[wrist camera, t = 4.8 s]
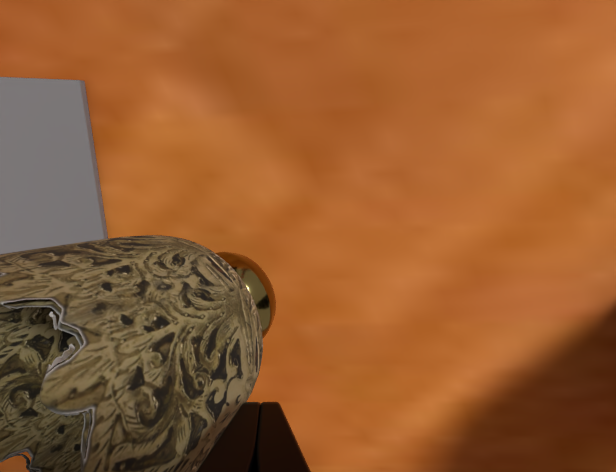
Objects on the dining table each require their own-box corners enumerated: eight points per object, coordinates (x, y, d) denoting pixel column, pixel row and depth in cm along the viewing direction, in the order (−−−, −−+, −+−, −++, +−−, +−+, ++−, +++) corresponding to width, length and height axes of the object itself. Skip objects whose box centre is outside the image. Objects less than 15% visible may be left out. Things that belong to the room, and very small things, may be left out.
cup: (160, 279, 17) (-78, 377, 10) (222, 155, 13) (-101, 184, 6) (265, 406, 15) (60, 620, 9) (371, 309, 11) (146, 563, 5)
